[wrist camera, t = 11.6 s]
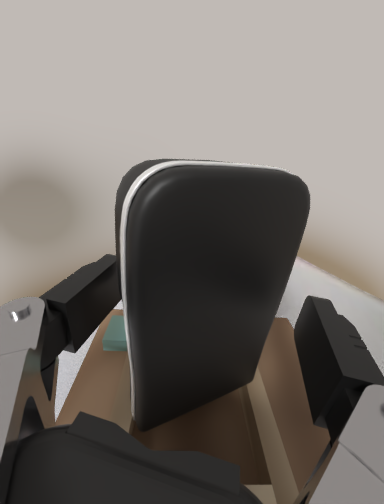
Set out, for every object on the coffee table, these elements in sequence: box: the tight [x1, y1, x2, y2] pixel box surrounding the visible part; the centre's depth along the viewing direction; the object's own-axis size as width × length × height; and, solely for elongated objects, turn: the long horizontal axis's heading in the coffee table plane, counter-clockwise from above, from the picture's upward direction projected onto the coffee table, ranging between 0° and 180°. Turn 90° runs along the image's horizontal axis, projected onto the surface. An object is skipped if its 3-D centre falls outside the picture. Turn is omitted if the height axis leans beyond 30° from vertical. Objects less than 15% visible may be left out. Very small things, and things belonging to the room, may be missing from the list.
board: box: [55, 309, 330, 504], centre depth 14 cm, size 16×13×3 cm
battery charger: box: [115, 159, 310, 432], centre depth 10 cm, size 7×4×11 cm, turn 116°
